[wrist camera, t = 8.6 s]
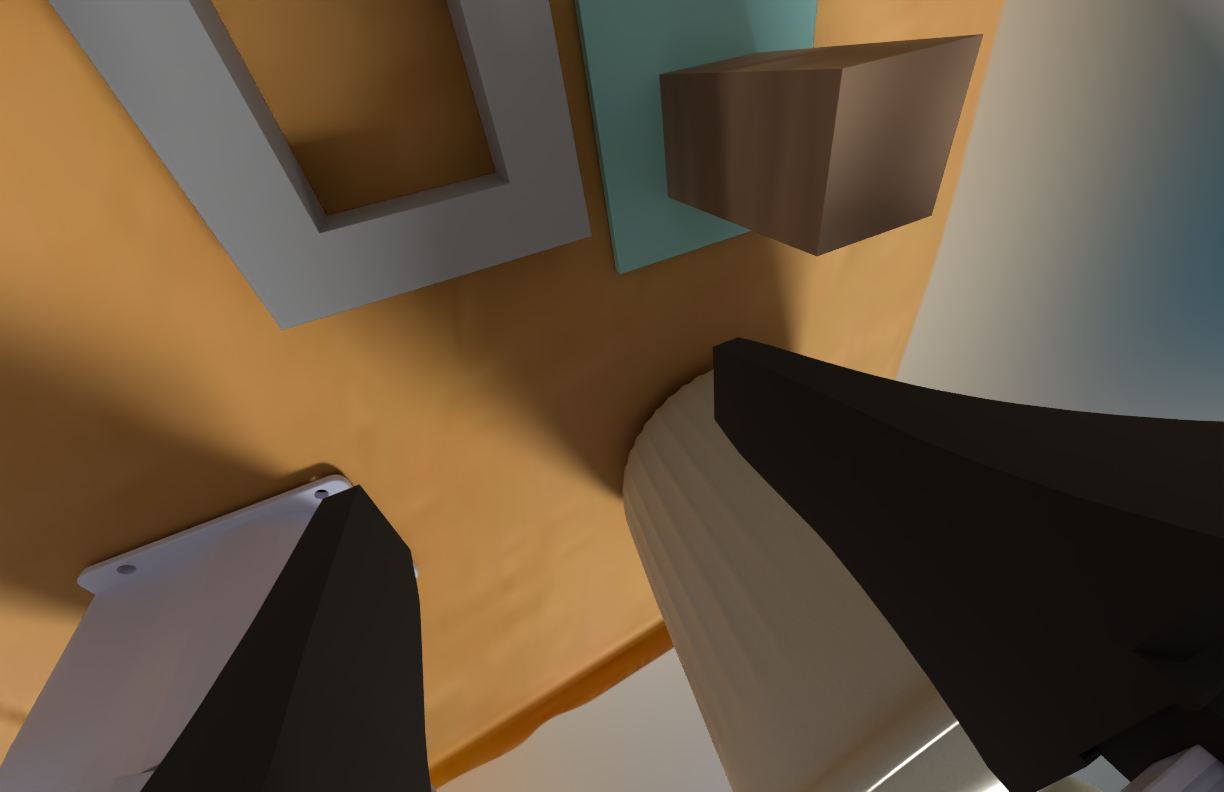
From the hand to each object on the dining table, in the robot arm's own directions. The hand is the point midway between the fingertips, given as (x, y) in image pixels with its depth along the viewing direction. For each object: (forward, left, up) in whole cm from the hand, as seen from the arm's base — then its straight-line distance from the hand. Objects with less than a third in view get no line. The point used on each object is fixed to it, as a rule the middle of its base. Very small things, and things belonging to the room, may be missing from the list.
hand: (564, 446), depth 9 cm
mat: (+10, +3, -10) cm, 15 cm away
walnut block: (+10, +3, -10) cm, 14 cm away
